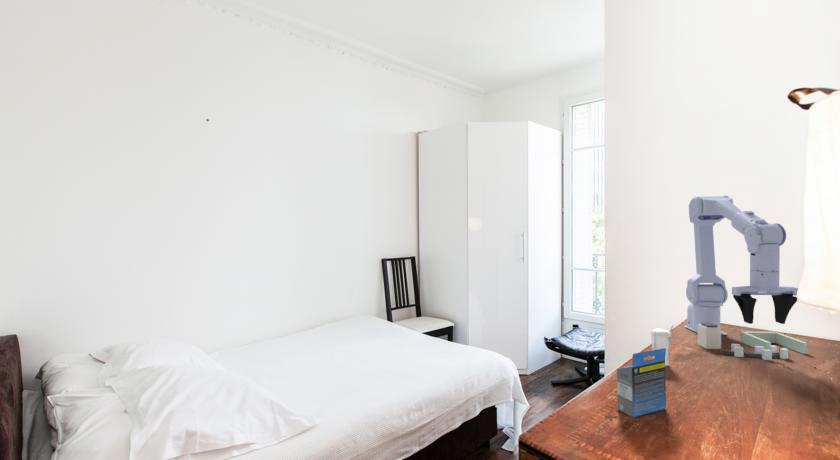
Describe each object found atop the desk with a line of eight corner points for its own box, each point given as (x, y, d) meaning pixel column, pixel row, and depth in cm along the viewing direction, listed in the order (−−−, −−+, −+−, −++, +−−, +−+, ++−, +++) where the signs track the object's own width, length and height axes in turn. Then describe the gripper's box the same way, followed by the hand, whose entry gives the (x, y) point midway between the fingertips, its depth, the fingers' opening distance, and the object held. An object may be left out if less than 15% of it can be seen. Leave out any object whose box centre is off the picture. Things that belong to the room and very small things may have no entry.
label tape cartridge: (649, 401, 81) (649, 342, 80) (667, 409, 77) (666, 347, 77) (616, 409, 78) (616, 347, 77) (633, 418, 74) (633, 354, 74)
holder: (739, 341, 117) (739, 331, 117) (776, 341, 116) (776, 331, 116) (767, 353, 107) (767, 342, 107) (807, 354, 106) (807, 343, 106)
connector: (697, 344, 116) (697, 322, 115) (712, 344, 115) (712, 322, 115) (706, 348, 112) (706, 325, 111) (721, 348, 111) (721, 325, 111)
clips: (727, 352, 108) (727, 343, 108) (775, 353, 107) (775, 344, 107) (741, 359, 103) (741, 350, 102) (793, 360, 101) (793, 350, 101)
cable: (719, 352, 108) (719, 349, 108) (786, 353, 106) (786, 350, 106) (729, 357, 104) (729, 354, 104) (798, 358, 102) (798, 355, 102)
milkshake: (678, 367, 98) (678, 327, 98) (657, 367, 98) (657, 328, 98) (667, 360, 103) (667, 323, 102) (647, 361, 103) (646, 323, 103)
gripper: (745, 273, 98) (745, 326, 98) (808, 272, 96) (808, 327, 97) (726, 269, 105) (726, 319, 105) (785, 268, 103) (784, 319, 104)
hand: (764, 322), depth 101 cm, fingers open, 7 cm apart
